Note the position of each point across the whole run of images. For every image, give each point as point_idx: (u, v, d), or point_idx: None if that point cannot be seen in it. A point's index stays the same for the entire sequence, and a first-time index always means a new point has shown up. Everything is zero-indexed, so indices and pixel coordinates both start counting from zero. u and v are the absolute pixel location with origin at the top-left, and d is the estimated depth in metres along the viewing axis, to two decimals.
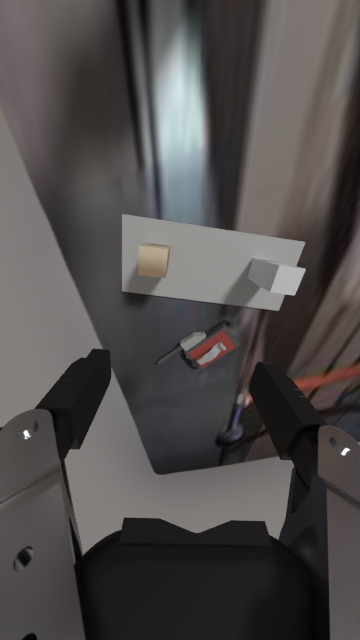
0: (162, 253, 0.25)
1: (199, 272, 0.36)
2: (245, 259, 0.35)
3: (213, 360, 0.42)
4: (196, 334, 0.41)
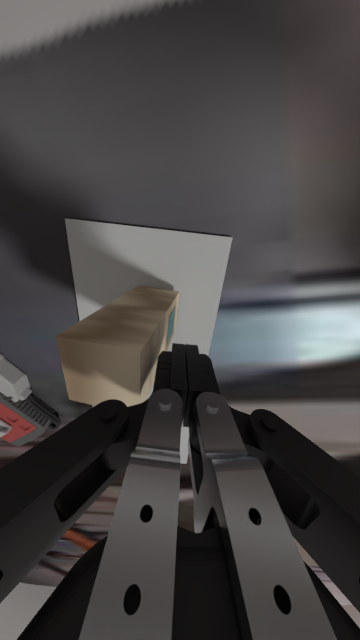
0: (128, 402, 0.09)
1: None
2: None
3: None
4: (21, 383, 0.21)
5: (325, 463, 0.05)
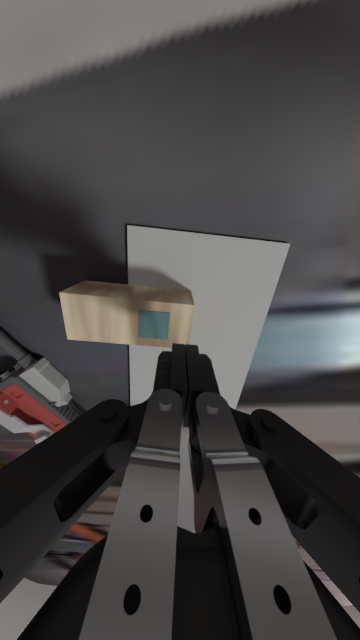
0: None
1: None
2: None
3: None
4: (64, 388, 0.22)
5: (325, 463, 0.05)
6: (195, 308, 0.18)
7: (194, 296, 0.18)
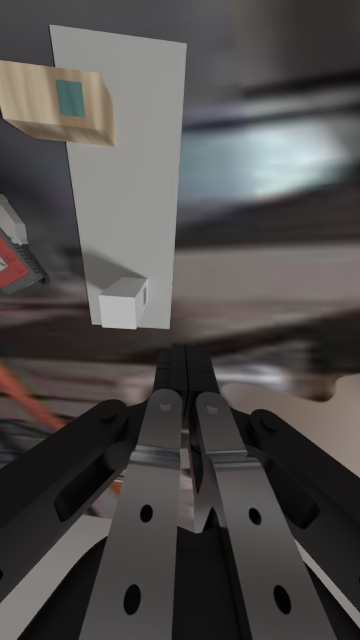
0: None
1: (118, 205, 0.25)
2: (144, 269, 0.29)
3: None
4: (20, 229, 0.26)
5: (325, 463, 0.05)
6: (119, 122, 0.21)
7: (116, 108, 0.21)
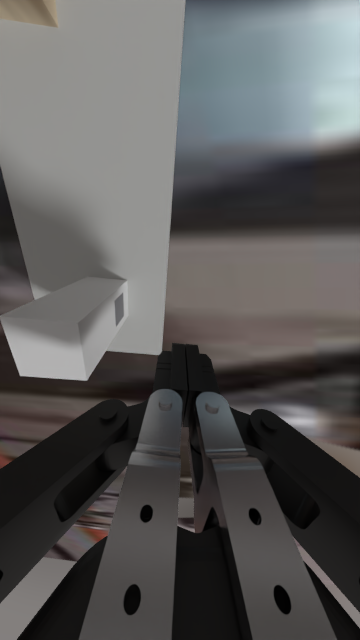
0: None
1: (71, 152, 0.14)
2: (121, 266, 0.18)
3: None
4: None
5: (325, 463, 0.05)
6: None
7: None
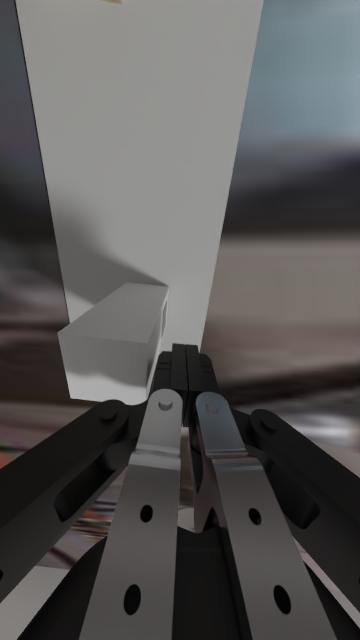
0: None
1: (123, 146, 0.13)
2: (165, 271, 0.17)
3: None
4: None
5: (325, 463, 0.05)
6: None
7: None
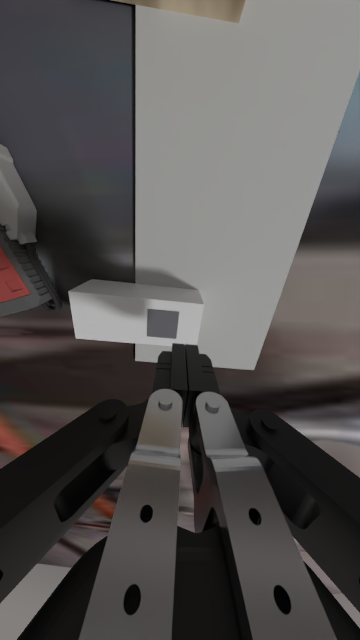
0: None
1: (216, 159, 0.13)
2: (237, 279, 0.17)
3: None
4: (28, 216, 0.14)
5: (325, 463, 0.05)
6: None
7: None
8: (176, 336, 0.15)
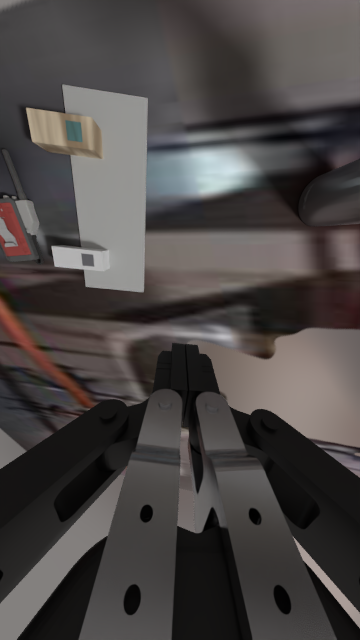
0: None
1: (105, 198, 0.36)
2: (124, 245, 0.40)
3: None
4: (35, 225, 0.38)
5: (325, 463, 0.05)
6: (105, 144, 0.33)
7: (104, 135, 0.32)
8: (94, 265, 0.38)
